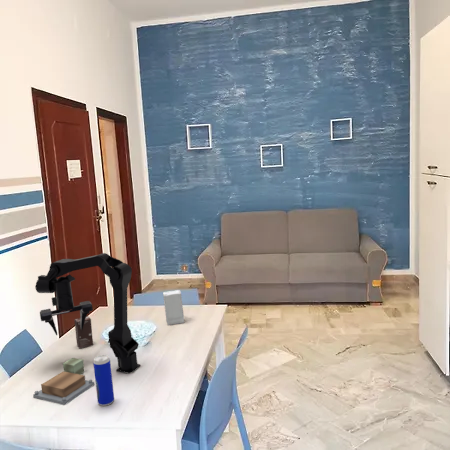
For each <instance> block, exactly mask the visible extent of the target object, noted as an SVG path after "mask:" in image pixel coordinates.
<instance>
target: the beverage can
mask: <svg viewBox="0 0 450 450" xmlns="http://www.w3.org/2000/svg"><path fill="white" fill-rule="evenodd" d="M111 367H112V366H111V358H110V356H109V355H107V354H101V355H98V356H95V357H94V358H93V371H94V372H93V373H94V379H95V380H94V383H95V390H96V398H97V400H96V401H97V403H98V405H100V406H109V405H111V404H112V403H113V402H114V400H115V393H114V386H113V383H114V382H113V376H112V368H111Z"/></svg>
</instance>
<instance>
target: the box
mask: <svg viewBox="0 0 450 450" xmlns="http://www.w3.org/2000/svg"><path fill="white" fill-rule="evenodd" d="M73 321H74V328H75V339H76V346H77V348H78V349H82V348H83V349H84V348H87V347H90V346H94V341H93V340H94V339H93V329H92V319H91V318H90V316H88V315H87V316H86V319H85V321H84V325H83V329H82V330H81V323H80V317H79V318H75V319H74V320H73Z"/></svg>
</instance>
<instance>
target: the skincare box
mask: <svg viewBox="0 0 450 450" xmlns="http://www.w3.org/2000/svg"><path fill="white" fill-rule="evenodd" d="M162 296H163V303H164V304H163V305H164V311H165V321H166V324H167V326H171V325H178V324H184V323H185V318H184V307H183V299H182V298H183V297H182V296H183V295H182V291H181V290H180V289H176V290H169V291H163V293H162Z"/></svg>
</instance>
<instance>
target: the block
mask: <svg viewBox="0 0 450 450" xmlns="http://www.w3.org/2000/svg"><path fill="white" fill-rule="evenodd" d="M62 365H63V371H64V372H69V373H74V374H79V375H83V373H85V363H84V359H82V358H75V357H72V358H70V359H69V360H67V361H65V362H63V363H62Z"/></svg>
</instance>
